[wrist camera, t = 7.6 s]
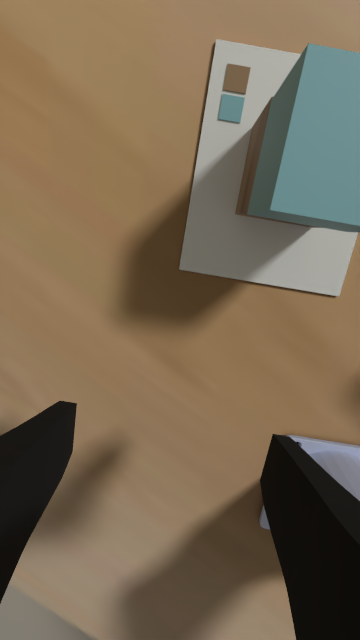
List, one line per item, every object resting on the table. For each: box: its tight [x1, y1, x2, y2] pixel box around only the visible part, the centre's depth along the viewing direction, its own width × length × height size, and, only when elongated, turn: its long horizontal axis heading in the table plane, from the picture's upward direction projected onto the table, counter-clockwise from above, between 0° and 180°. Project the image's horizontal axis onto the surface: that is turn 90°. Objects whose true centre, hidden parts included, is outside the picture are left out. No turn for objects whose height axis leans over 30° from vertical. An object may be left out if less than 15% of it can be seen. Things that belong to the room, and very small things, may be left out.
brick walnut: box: [235, 97, 321, 228], centre depth 17 cm, size 5×5×5 cm
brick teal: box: [247, 43, 360, 232], centre depth 13 cm, size 5×5×5 cm
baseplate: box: [179, 39, 358, 296], centre depth 19 cm, size 10×12×1 cm
